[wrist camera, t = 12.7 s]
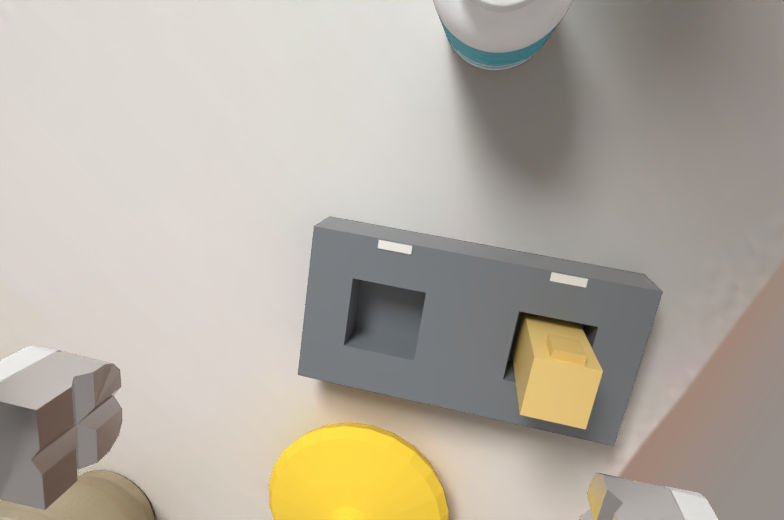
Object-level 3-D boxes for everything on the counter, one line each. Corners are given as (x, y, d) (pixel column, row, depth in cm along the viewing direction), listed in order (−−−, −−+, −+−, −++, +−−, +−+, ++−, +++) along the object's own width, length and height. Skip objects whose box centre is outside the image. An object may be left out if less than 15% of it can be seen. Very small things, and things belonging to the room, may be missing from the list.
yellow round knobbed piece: (467, 431, 44) (464, 488, 37) (432, 575, 48) (424, 649, 41) (290, 388, 45) (257, 435, 39) (272, 531, 50) (240, 595, 43)
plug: (524, 298, 39) (536, 347, 31) (578, 308, 39) (605, 362, 30) (511, 352, 40) (519, 414, 32) (563, 363, 40) (585, 429, 31)
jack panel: (329, 216, 41) (313, 226, 37) (644, 274, 38) (663, 291, 34) (313, 353, 44) (297, 375, 40) (601, 415, 41) (614, 446, 37)
